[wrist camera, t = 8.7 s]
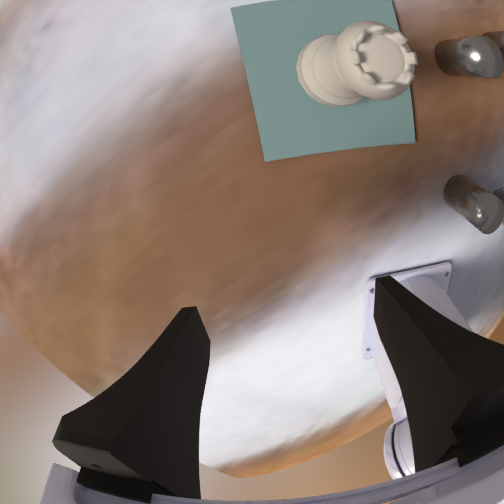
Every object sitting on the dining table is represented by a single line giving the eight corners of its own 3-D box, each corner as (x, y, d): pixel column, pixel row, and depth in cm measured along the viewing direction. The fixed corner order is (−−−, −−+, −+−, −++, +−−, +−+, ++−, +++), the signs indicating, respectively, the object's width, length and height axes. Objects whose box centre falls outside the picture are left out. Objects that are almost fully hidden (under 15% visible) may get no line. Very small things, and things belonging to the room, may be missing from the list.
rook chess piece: (294, 33, 14) (322, -10, 7) (368, 42, 13) (438, 18, 6) (294, 104, 16) (322, 110, 9) (367, 110, 16) (436, 126, 9)
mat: (412, 141, 17) (415, 142, 16) (265, 160, 18) (265, 161, 18) (388, 0, 12) (390, -2, 12) (231, 9, 13) (230, 8, 13)
